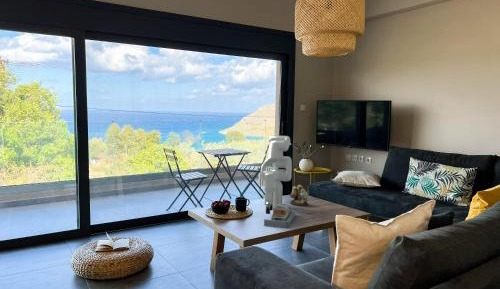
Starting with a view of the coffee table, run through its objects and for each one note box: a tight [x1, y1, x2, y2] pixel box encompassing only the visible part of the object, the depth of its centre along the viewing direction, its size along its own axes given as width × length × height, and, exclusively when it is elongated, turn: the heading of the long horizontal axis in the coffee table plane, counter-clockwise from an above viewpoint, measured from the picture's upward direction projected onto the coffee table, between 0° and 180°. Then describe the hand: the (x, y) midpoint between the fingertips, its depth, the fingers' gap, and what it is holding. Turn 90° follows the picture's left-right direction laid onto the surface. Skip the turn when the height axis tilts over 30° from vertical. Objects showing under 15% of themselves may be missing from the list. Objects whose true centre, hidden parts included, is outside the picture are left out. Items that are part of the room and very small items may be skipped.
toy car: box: [270, 203, 292, 221], centre depth 273 cm, size 11×25×10 cm, turn 164°
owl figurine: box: [288, 184, 309, 207], centre depth 318 cm, size 18×12×17 cm, turn 55°
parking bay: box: [263, 208, 296, 229], centre depth 273 cm, size 32×17×4 cm, turn 165°
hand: (269, 211), depth 275 cm, fingers open, 9 cm apart
